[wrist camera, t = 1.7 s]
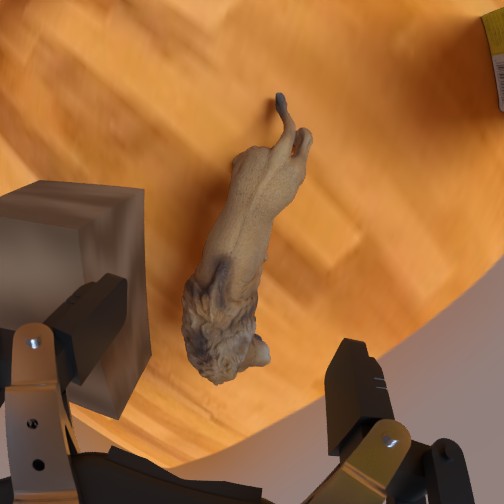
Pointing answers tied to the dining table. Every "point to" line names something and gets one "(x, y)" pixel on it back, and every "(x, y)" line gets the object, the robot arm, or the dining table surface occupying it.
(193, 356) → the lion figurine
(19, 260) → the brown wooden block
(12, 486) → the robot arm
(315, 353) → the dining table surface
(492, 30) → the crayon box
